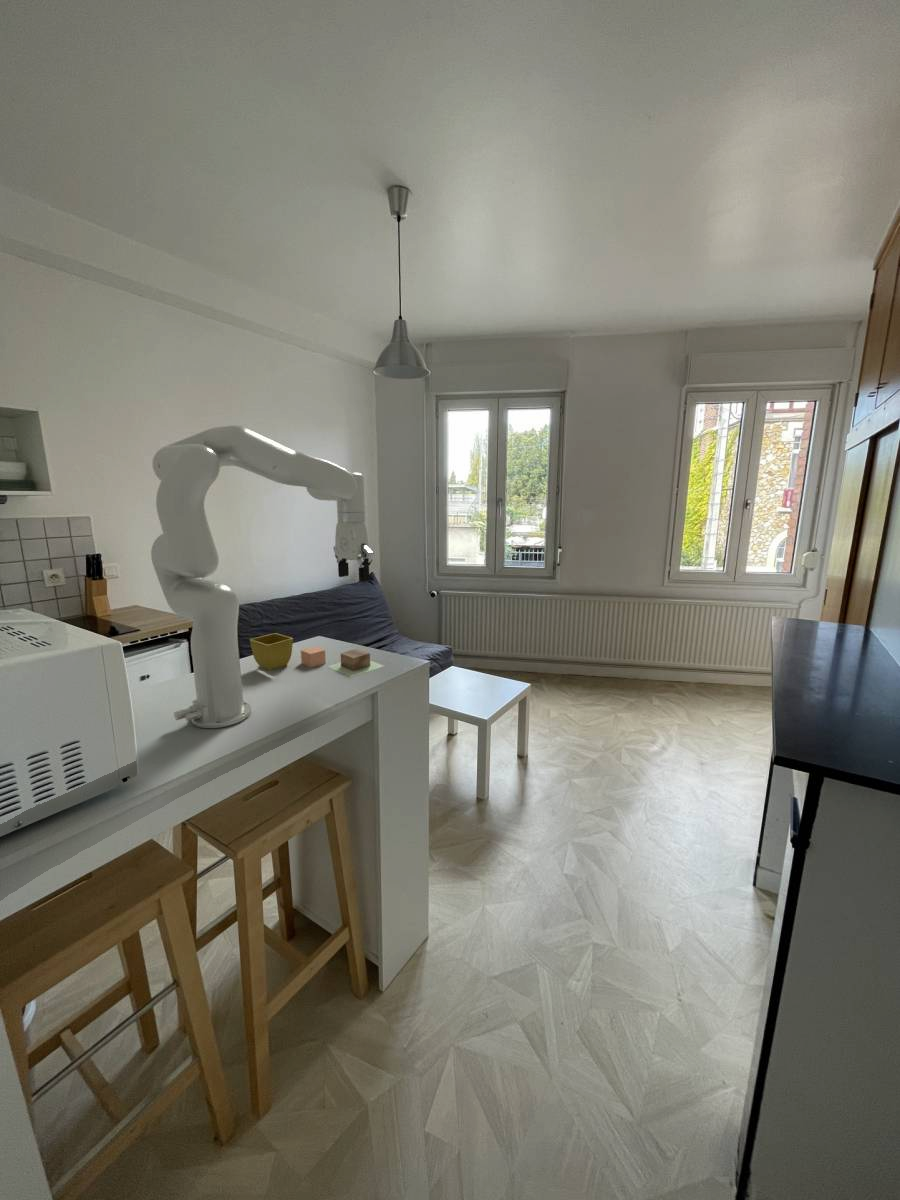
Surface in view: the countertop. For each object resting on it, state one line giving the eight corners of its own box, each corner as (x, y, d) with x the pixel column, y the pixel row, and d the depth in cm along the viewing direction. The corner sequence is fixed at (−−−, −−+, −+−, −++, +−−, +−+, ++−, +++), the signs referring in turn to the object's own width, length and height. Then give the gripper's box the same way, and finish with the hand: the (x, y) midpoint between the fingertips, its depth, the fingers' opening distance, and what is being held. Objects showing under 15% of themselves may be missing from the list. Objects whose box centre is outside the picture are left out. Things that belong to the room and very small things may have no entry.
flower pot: (277, 660, 150) (275, 632, 148) (295, 666, 145) (293, 637, 143) (251, 668, 143) (248, 639, 141) (269, 675, 138) (267, 645, 136)
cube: (311, 670, 142) (310, 654, 141) (301, 666, 146) (300, 650, 145) (325, 666, 146) (325, 650, 145) (316, 661, 149) (315, 646, 148)
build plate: (351, 679, 136) (351, 677, 135) (326, 669, 143) (326, 666, 143) (384, 668, 144) (384, 665, 144) (359, 658, 152) (359, 656, 152)
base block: (353, 671, 140) (353, 658, 139) (341, 666, 143) (340, 653, 143) (370, 666, 144) (369, 653, 143) (357, 661, 148) (357, 648, 147)
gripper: (322, 517, 140) (325, 576, 144) (359, 520, 128) (361, 584, 132) (344, 516, 145) (346, 573, 149) (381, 519, 134) (383, 581, 138)
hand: (353, 578), depth 141 cm, fingers open, 9 cm apart
